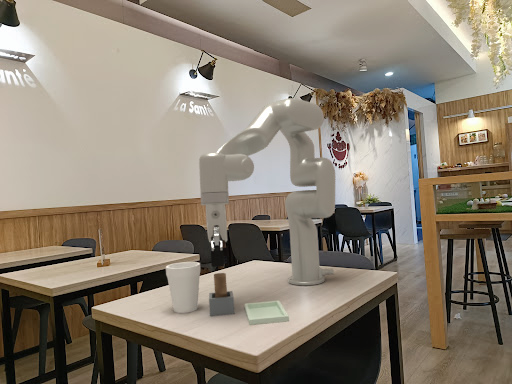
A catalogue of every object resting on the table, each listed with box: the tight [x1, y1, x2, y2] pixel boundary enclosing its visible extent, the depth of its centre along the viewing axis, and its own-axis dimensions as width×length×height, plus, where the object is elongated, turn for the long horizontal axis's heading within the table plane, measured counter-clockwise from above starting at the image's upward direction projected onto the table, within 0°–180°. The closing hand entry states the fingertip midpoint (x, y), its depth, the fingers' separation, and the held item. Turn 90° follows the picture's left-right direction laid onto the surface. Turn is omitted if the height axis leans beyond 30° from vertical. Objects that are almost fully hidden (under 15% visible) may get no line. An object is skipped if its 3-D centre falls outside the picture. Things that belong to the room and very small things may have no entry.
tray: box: [244, 300, 290, 326], centre depth 99 cm, size 14×10×2 cm
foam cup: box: [165, 261, 201, 314], centre depth 107 cm, size 10×9×13 cm
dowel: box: [213, 272, 228, 298], centre depth 103 cm, size 3×3×10 cm
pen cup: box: [208, 290, 235, 317], centre depth 103 cm, size 6×6×5 cm
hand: (217, 263), depth 103 cm, fingers open, 9 cm apart
